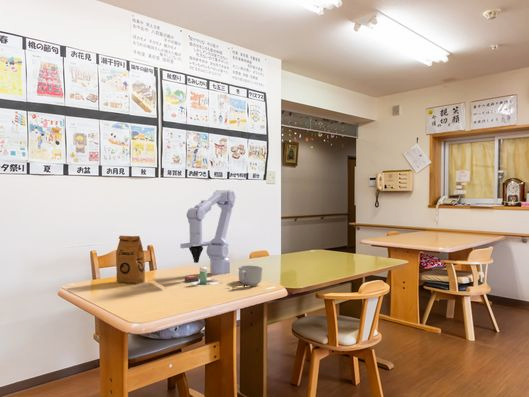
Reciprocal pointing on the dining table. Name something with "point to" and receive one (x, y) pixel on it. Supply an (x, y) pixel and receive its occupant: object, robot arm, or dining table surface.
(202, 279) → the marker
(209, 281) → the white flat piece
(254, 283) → the teacup
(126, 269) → the coffee package
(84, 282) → the dining table surface
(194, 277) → the button
